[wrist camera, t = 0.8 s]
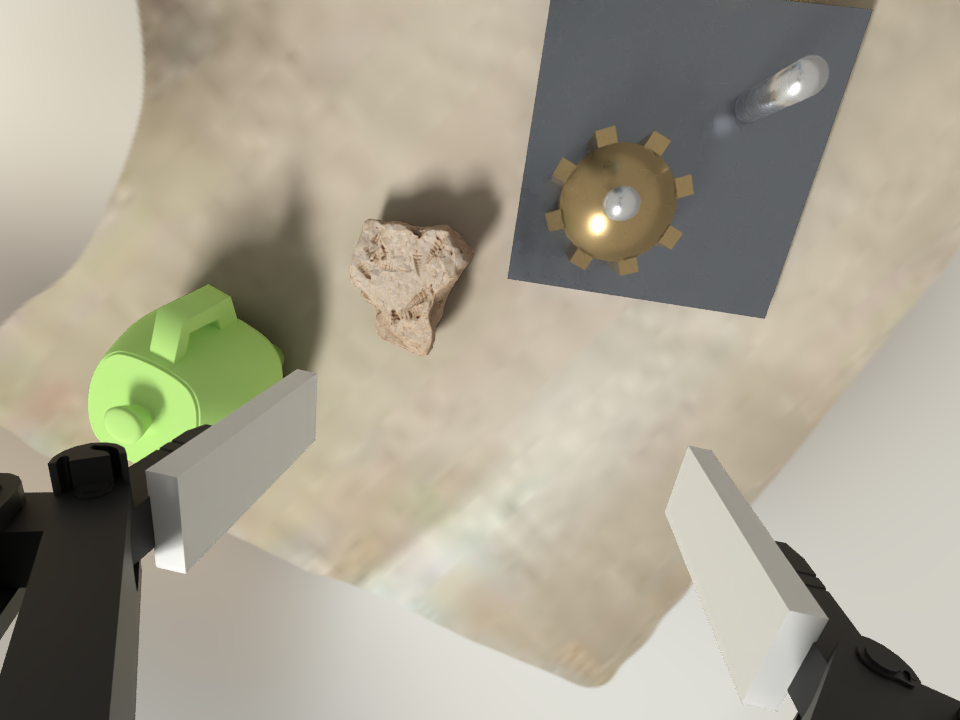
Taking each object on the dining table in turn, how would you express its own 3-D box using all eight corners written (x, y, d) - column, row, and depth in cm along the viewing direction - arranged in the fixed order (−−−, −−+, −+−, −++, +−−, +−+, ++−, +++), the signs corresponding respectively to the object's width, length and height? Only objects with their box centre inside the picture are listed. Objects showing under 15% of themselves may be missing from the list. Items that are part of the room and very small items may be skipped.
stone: (485, 240, 37) (476, 244, 33) (431, 358, 41) (416, 376, 36) (387, 191, 37) (364, 188, 33) (342, 314, 41) (316, 327, 36)
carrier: (553, -13, 31) (557, -90, 23) (856, 19, 30) (973, -53, 22) (508, 276, 38) (500, 293, 30) (755, 314, 36) (816, 343, 28)
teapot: (266, 478, 47) (175, 566, 36) (150, 420, 47) (18, 490, 35) (329, 312, 41) (243, 353, 29) (195, 243, 40) (51, 256, 29)
